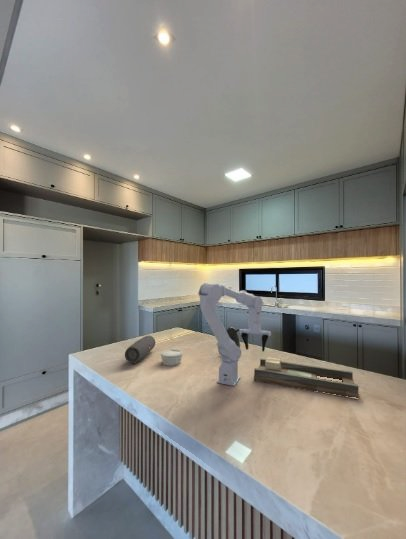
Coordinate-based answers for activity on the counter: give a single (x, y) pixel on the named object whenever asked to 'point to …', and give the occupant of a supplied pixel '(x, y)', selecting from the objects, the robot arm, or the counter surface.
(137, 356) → the bluetooth speaker
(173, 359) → the ramekin
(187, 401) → the counter surface
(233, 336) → the pump dispenser
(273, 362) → the maple block
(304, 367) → the walled deck
